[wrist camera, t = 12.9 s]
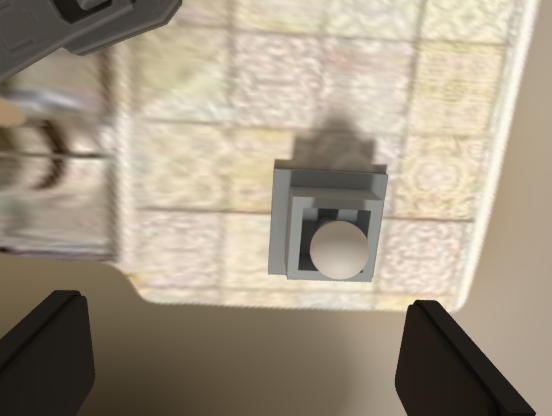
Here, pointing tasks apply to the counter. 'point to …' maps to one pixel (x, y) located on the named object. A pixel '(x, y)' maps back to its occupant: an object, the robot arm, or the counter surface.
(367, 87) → the counter surface
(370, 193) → the socket holder
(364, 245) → the lightbulb
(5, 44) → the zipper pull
